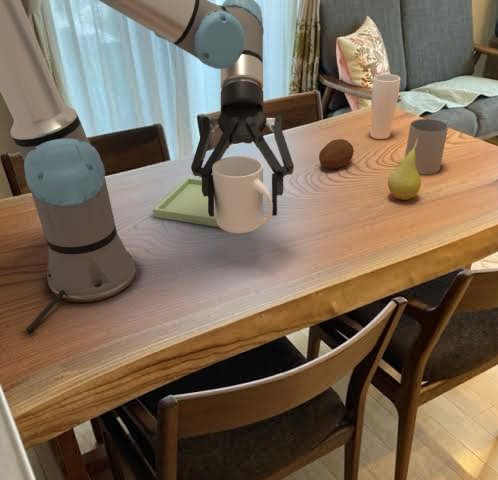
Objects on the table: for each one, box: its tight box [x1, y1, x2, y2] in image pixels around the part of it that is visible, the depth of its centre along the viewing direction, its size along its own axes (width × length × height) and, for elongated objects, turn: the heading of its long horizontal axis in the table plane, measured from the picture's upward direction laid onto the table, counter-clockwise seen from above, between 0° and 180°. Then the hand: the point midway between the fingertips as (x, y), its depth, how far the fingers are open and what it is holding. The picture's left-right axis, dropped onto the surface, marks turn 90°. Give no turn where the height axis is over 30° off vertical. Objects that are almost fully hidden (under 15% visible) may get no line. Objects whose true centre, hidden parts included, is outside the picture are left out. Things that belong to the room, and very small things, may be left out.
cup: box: [404, 118, 449, 175], centre depth 126 cm, size 8×8×10 cm
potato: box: [318, 138, 355, 170], centre depth 130 cm, size 7×10×6 cm
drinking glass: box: [369, 73, 401, 140], centre depth 140 cm, size 7×7×15 cm
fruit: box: [387, 138, 422, 201], centre depth 114 cm, size 7×8×12 cm
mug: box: [212, 155, 273, 234], centre depth 93 cm, size 9×12×11 cm
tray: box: [152, 176, 220, 228], centre depth 117 cm, size 17×17×2 cm
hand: (242, 213), depth 92 cm, fingers closed on mug, 10 cm apart
